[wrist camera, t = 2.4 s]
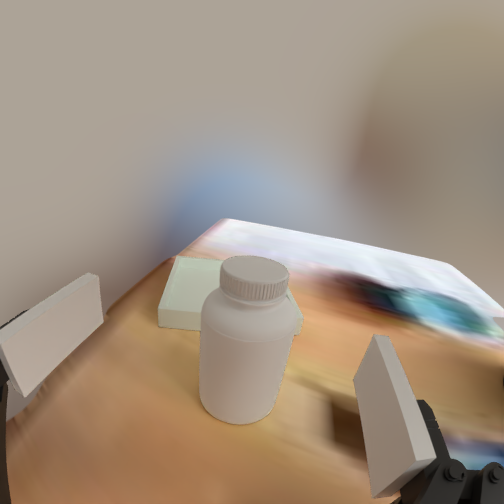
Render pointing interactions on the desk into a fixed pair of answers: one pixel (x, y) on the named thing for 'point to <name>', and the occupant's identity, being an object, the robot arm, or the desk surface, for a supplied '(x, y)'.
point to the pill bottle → (245, 339)
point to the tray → (195, 293)
